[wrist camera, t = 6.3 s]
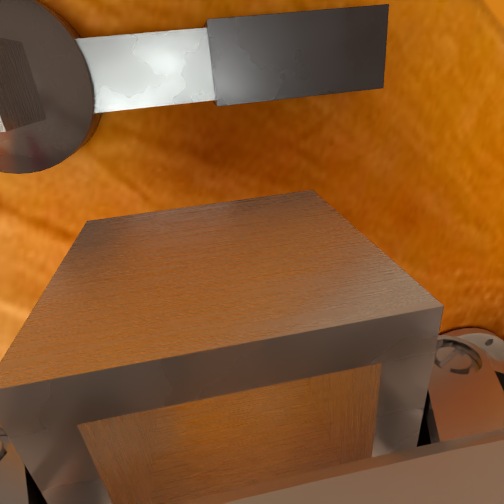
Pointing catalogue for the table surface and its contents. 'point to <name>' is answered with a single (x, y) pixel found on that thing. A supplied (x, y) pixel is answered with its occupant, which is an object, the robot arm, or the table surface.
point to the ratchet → (168, 70)
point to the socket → (216, 354)
